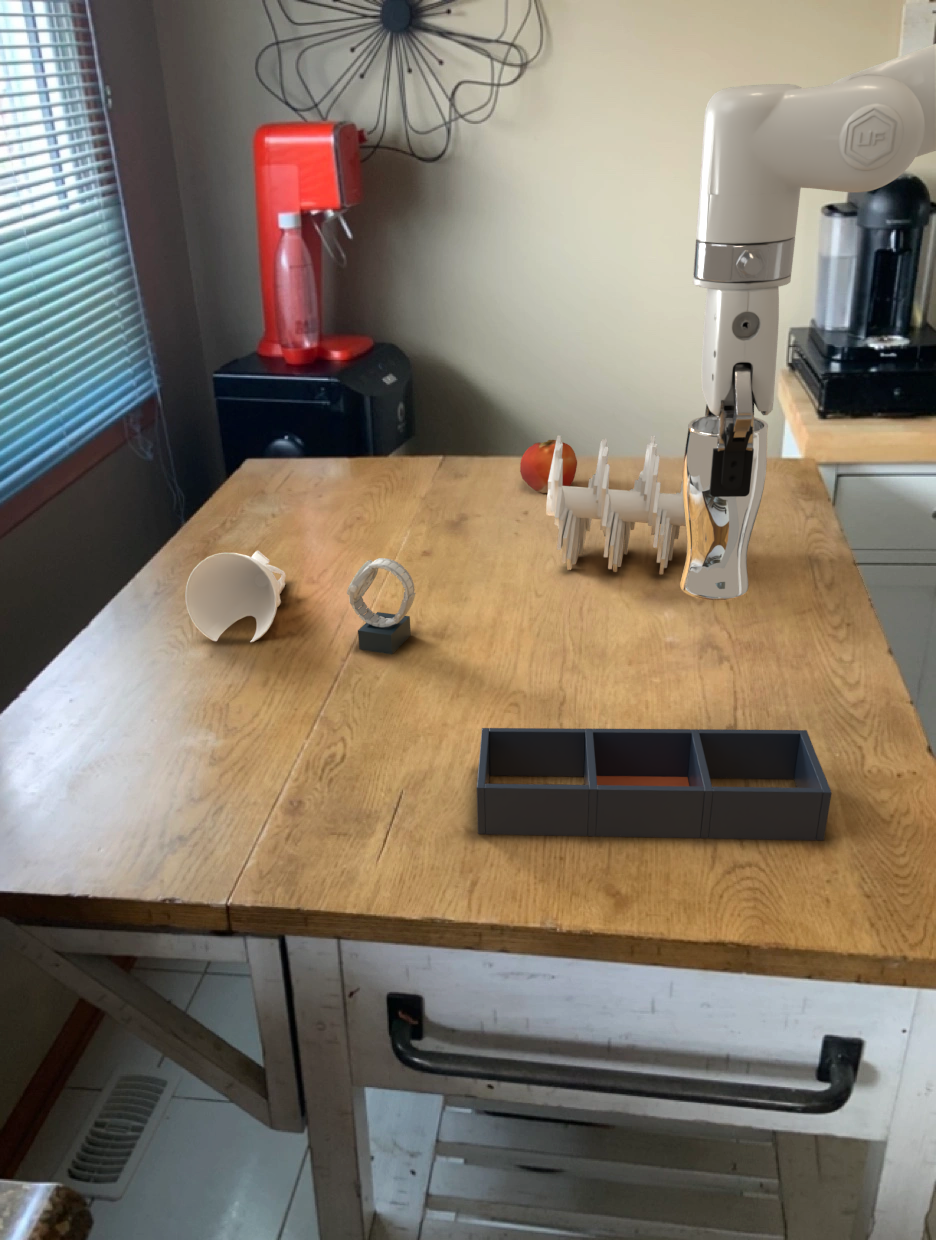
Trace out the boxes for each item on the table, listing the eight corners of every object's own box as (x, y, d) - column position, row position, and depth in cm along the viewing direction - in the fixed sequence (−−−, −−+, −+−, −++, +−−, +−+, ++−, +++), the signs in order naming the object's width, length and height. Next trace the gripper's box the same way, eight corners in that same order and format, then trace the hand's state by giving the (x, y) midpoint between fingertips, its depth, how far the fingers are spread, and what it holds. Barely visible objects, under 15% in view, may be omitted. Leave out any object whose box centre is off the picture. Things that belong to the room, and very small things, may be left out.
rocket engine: (263, 513, 152) (221, 532, 135) (329, 570, 152) (295, 596, 135) (214, 577, 156) (167, 603, 139) (278, 632, 156) (239, 665, 139)
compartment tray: (799, 780, 106) (806, 729, 104) (823, 846, 97) (832, 792, 95) (482, 777, 110) (481, 727, 107) (477, 839, 101) (476, 787, 98)
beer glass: (723, 567, 107) (737, 409, 100) (769, 593, 101) (788, 427, 94) (659, 581, 105) (669, 421, 98) (704, 608, 99) (717, 440, 92)
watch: (364, 632, 140) (358, 549, 135) (424, 641, 137) (420, 556, 132) (344, 652, 136) (337, 566, 130) (405, 661, 133) (400, 574, 127)
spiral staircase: (727, 612, 149) (538, 594, 154) (734, 516, 158) (556, 502, 163) (747, 513, 134) (537, 497, 139) (753, 413, 143) (557, 402, 149)
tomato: (581, 496, 180) (582, 447, 176) (523, 500, 180) (523, 450, 176) (572, 478, 188) (573, 431, 184) (517, 482, 188) (516, 434, 184)
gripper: (812, 279, 81) (784, 514, 90) (774, 246, 96) (753, 451, 105) (706, 283, 82) (688, 515, 91) (684, 249, 97) (671, 452, 106)
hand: (723, 479), depth 98 cm, fingers closed on beer glass, 7 cm apart
